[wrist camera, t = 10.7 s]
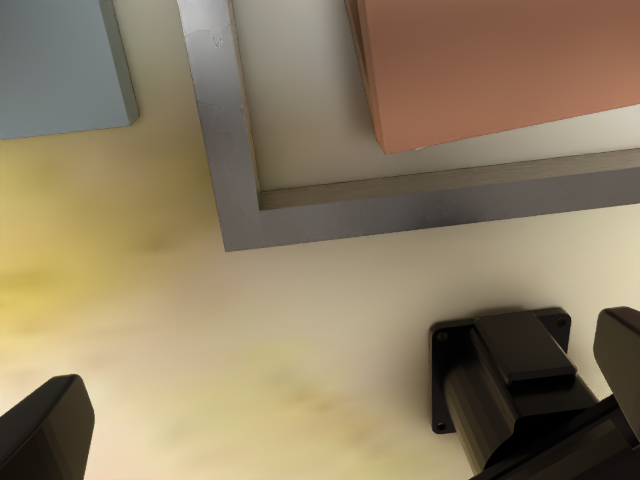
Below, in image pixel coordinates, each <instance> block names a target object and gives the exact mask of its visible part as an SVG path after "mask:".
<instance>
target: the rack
mask: <svg viewBox="0 0 640 480" xmlns="http://www.w3.org/2000/svg"><path fill="white" fill-rule="evenodd" d="M177 2H178V7H179V12H180V17H181V22H182V28H183V33H184V38H185V43H186V49H187V54H188V59H189V64H190V69H191V75H192V80H193V85H194V90H195V96H196V101H197V106H198V111H199V117H200V122H201V127H202V132H203V137H204V143H205V148H206V153H207V158H208V164H209V169H210V174H211V179H212V185H213V190H214V195H215V200H216V205H217V211H218V216H219V221H220V226H221V232H222V237H223V242H224V247H225V252H231V251H239V250H248V249H256V248H265V247H273V246H282V245H290V244H299V243H307V242H316V241H324V240H333V239H341V238H350V237H358V236H367V235H375V234H384V233H392V232H401V231H409V230H418V229H426V228H434V227H443V226H451V225H460V224H468V223H477V222H485V221H494V220H502V219H511V218H519V217H528V216H536V215H545V214H553V213H562V212H570V211H579V210H587V209H596V208H604V207H613V206H621V205H630V204H638V203H640V148H639V149H630V150H621V151H613V152H604V153H595V154H586V155H578V156H569V157H560V158H552V159H543V160H534V161H526V162H517V163H508V164H500V165H491V166H482V167H473V168H465V169H456V170H447V171H439V172H430V173H421V174H413V175H404V176H395V177H386V178H378V179H369V180H360V181H352V182H343V183H334V184H326V185H317V186H308V187H299V188H291V189H282V190H273V191H265V192H260V185H259V178H258V172H257V165H256V159H255V152H254V145H253V139H252V132H251V126H250V119H249V112H248V106H247V99H246V92H245V86H244V79H243V73H242V66H241V59H240V53H239V46H238V39H237V33H236V26H235V20H234V13H233V6H232V0H177Z"/></svg>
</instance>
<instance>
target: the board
mask: <svg viewBox="0 0 640 480" xmlns="http://www.w3.org/2000/svg"><path fill="white" fill-rule="evenodd" d="M138 117H139V112H138V108H137V104H136V100H135V96H134V91H133V87H132V83H131V79H130V75H129V70H128V66H127V62H126V58H125V54H124V50H123V45H122V41H121V37H120V33H119V29H118V25H117V20H116V16H115V12H114V8H113V4H112V0H0V140H6V139H15V138H24V137H33V136H42V135H51V134H60V133H69V132H78V131H87V130H96V129H105V128H114V127H123V126H130V125H131V124H132V123H133V122H134V121H135V120H136V119H137V118H138Z"/></svg>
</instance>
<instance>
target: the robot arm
mask: <svg viewBox="0 0 640 480" xmlns="http://www.w3.org/2000/svg"><path fill="white" fill-rule="evenodd" d="M559 318H561V320H560V321H558V322H556V320H557V319H559ZM570 327H571V317H570V316H569V314H568V313H567V312H566V311H565V310H563V309H558V308H557V309H549V310H541V311H533V312H530V311H528V312H520V313H511V314H503V315H495V316H487V317H480V318H476V319H468V320H460V321H452V322H443V323H438V324H435V325H434V326H432V328H431V329H430V333H429V356H430V424H431V427H432V430H433V431H434V432H435V433H437V434H446V433H454V432H457V434H458V436H459V439H460V441H461V444H462V446H463V449H464V451H465V454H466V456H467V459H468V461H469V464H470V466H471V469H472V471H473V474H474V477H472V478H470V479H469V480H640V311H637V310H635V309H632V308H629V307H625V306H622V307H614V308H606V309H603V310H602V311H601V312H600V313H599V315H598V320H597V326H596V333H595V339H594V345H593V352H594V357H595V360H596V362H597V364H598V366H599V368H600V370H601V372H602V374H603V375H604V377H605V379H606V381H607V383H608V385H609V387H610V389H611V391H612V392H613V394H611V395H610V396H608V397H606V398H605V399H603V400H601V401H599V400H598V399H597V397H596V396H595V395H594V393H593V392H592V391H591V389H590V388H589V387H588V386H587V384H586V383H585V382H584V380H583V379H582V378H581V377H580V375H579V374H578V373H577V367H576V366H575V365H574V364H573V362H572V361H571V360H570V358H569V357H568V356H567V350H568V342H569V334H570ZM442 332H444V333H445V334H444V335H443V336H438V334H439V333H442ZM94 423H95V415H94V410H93V407H92V404H91V401H90V398H89V396H88V393H87V390H86V387H85V385H84V382H83V380H82V378H81V377H80V376H79V375H77V374H70V375H61V376H55V377H52V378H51V379H49V380H48V381H47V382H45V383H44V384H43V385H41V386H40V387H39V388H38V389H36V390H35V391H34V392H32V393H31V394H30V395H28V396H27V397H26V398H24V399H23V400H22V401H20V402H19V403H18V404H17V405H15V406H14V407H13V408H11V409H10V410H9V411H7V412H6V413H5V414H3V415H2V416H1V417H0V480H84V475H85V470H86V465H87V459H88V454H89V449H90V444H91V439H92V434H93V429H94ZM440 423H443V424H440ZM438 424H440V425H438Z"/></svg>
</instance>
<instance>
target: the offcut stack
mask: <svg viewBox="0 0 640 480" xmlns="http://www.w3.org/2000/svg"><path fill="white" fill-rule="evenodd" d="M344 2H345V6H346V10H347V14H348V19H349V23H350V27H351V32H352V36H353V40H354V44H355V49H356V53H357V57H358V62H359V66H360V70H361V74H362V79H363V83H364V87H365V92H366V96H367V100H368V104H369V109H370V113H371V117H372V122H373V126H374V130H375V134H376V140H377V142H378V144H379V145H380V147H381V149H382V150H383V152H384V153H385V155H386V154H391V153H396V152H401V151H406V150H411V149H415V151H418V150H421V149H424V148H426V147H429V146H432V145H436V144H441V143H446V142H451V141H456V140H461V139H466V138H471V137H476V136H481V135H487V134H492V133H497V132H502V131H507V130H512V129H517V128H522V127H527V126H532V125H537V124H542V123H547V122H552V121H557V120H562V119H567V118H572V117H577V116H582V115H587V114H592V113H597V112H602V111H607V110H612V109H617V108H622V107H627V106H632V105H637V104H640V0H344Z"/></svg>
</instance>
